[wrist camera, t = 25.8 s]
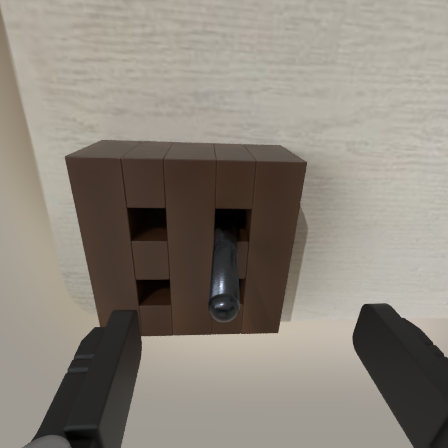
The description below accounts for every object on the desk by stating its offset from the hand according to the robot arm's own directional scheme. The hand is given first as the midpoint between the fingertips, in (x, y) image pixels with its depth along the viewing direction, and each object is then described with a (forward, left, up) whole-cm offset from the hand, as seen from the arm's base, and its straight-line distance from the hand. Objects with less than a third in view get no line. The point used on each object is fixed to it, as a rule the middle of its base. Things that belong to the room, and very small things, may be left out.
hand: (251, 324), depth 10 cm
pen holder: (-2, -3, -14) cm, 15 cm away
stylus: (0, 0, -14) cm, 14 cm away
